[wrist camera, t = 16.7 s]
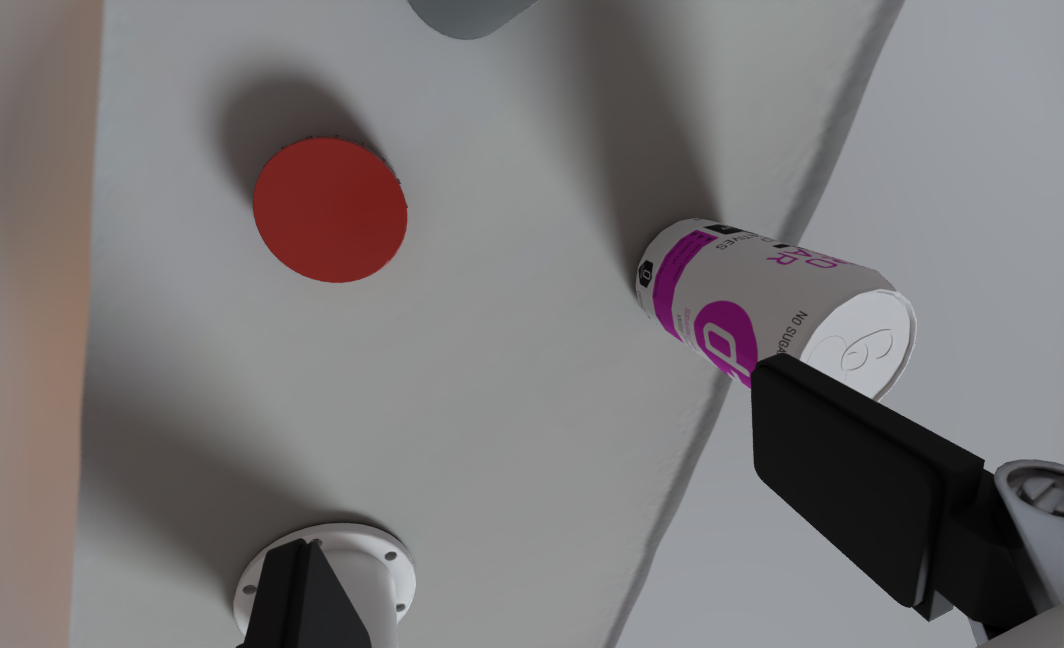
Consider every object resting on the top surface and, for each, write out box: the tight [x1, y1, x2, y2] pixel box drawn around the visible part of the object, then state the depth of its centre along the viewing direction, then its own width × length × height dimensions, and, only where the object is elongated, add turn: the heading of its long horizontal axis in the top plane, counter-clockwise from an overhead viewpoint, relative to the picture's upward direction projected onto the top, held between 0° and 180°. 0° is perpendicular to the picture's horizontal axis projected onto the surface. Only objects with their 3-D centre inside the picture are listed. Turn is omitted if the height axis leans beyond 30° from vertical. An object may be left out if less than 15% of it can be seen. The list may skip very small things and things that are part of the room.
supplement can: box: [635, 218, 917, 402], centre depth 30 cm, size 8×8×15 cm
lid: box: [253, 135, 408, 283], centre depth 27 cm, size 8×8×3 cm
